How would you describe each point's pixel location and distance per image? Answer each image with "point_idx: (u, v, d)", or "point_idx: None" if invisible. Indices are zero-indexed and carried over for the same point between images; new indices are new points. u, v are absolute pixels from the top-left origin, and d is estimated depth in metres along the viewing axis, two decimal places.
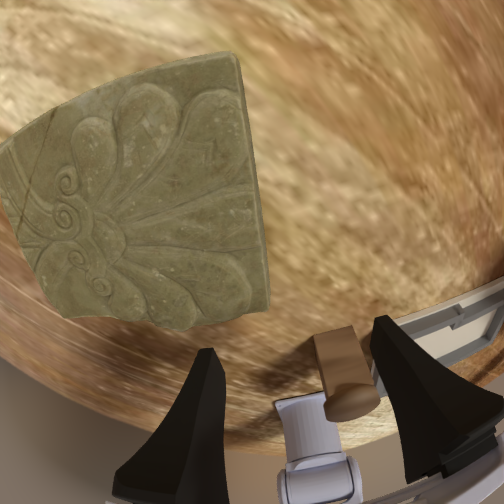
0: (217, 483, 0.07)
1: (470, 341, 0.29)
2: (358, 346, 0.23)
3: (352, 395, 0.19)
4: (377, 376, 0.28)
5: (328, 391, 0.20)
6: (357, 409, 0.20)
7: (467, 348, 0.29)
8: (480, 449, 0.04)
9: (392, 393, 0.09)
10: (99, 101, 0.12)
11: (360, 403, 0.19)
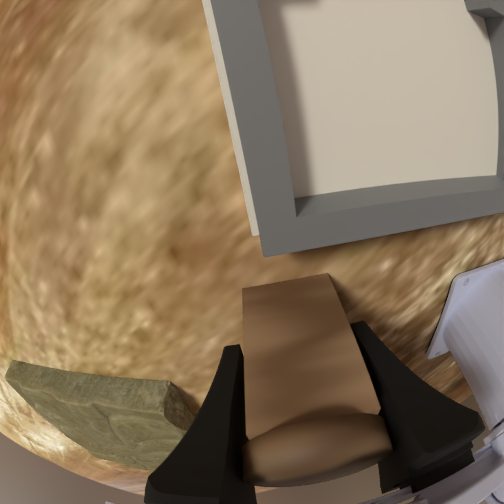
0: None
1: None
2: None
3: None
4: None
5: None
6: (323, 470, 0.06)
7: None
8: (454, 465, 0.04)
9: None
10: (52, 422, 0.19)
11: (284, 476, 0.06)
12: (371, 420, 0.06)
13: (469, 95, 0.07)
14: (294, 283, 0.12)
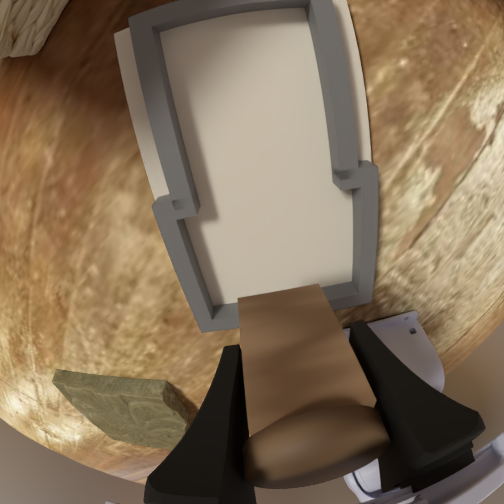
0: None
1: (311, 61, 0.13)
2: (241, 340, 0.11)
3: None
4: None
5: None
6: (323, 465, 0.07)
7: (322, 75, 0.12)
8: (454, 464, 0.04)
9: None
10: (82, 411, 0.31)
11: (286, 472, 0.06)
12: (368, 412, 0.07)
13: (322, 244, 0.19)
14: (287, 292, 0.13)
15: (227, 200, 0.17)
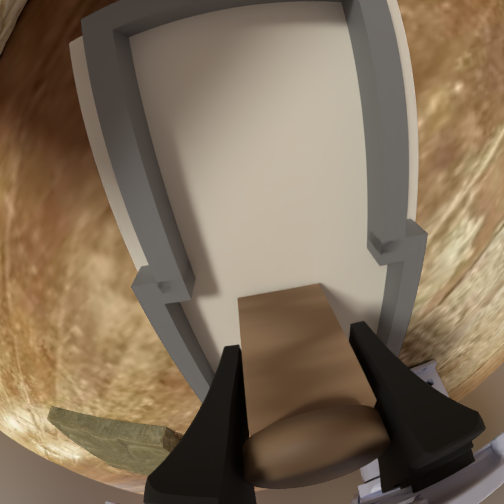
0: None
1: (351, 81, 0.09)
2: (241, 340, 0.11)
3: None
4: None
5: None
6: (323, 465, 0.07)
7: (369, 105, 0.09)
8: (454, 465, 0.04)
9: None
10: (81, 445, 0.27)
11: (286, 472, 0.06)
12: (368, 411, 0.07)
13: (345, 316, 0.15)
14: (287, 292, 0.13)
15: (230, 273, 0.13)
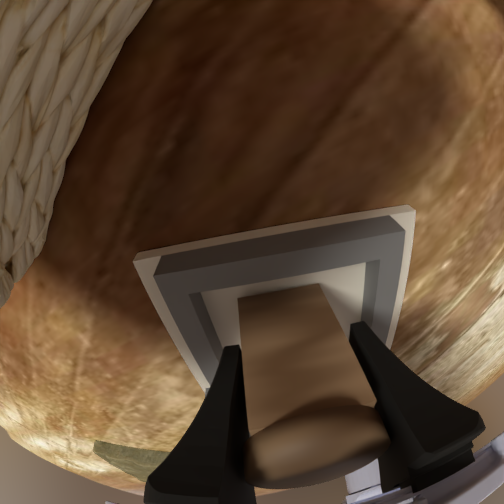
0: None
1: (358, 299, 0.14)
2: (241, 340, 0.11)
3: None
4: None
5: None
6: (324, 465, 0.07)
7: (366, 320, 0.14)
8: (454, 465, 0.04)
9: None
10: (119, 467, 0.32)
11: (286, 472, 0.06)
12: (368, 412, 0.07)
13: None
14: (287, 292, 0.13)
15: None
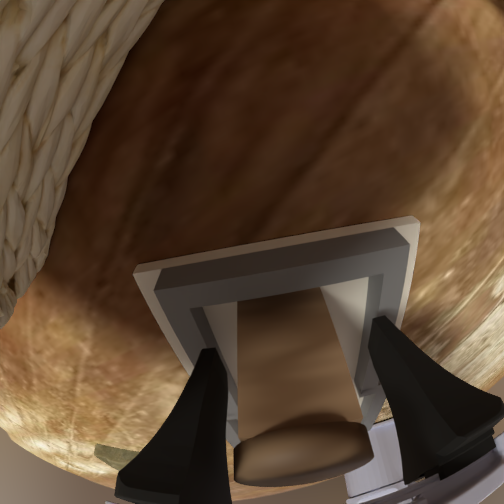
0: (220, 483, 0.07)
1: (360, 310, 0.14)
2: None
3: None
4: None
5: None
6: (308, 472, 0.07)
7: (368, 331, 0.14)
8: (478, 450, 0.04)
9: (390, 394, 0.09)
10: None
11: (272, 476, 0.07)
12: (354, 428, 0.07)
13: None
14: (287, 294, 0.13)
15: None
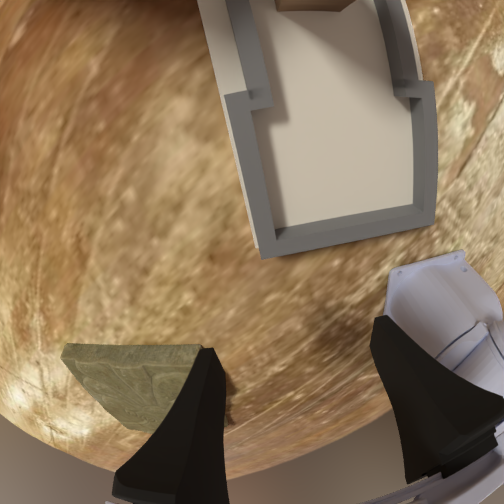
0: (217, 483, 0.07)
1: None
2: None
3: None
4: None
5: None
6: None
7: (380, 4, 0.10)
8: (480, 449, 0.04)
9: (392, 393, 0.09)
10: (95, 395, 0.29)
11: None
12: None
13: (387, 158, 0.16)
14: None
15: (299, 102, 0.15)
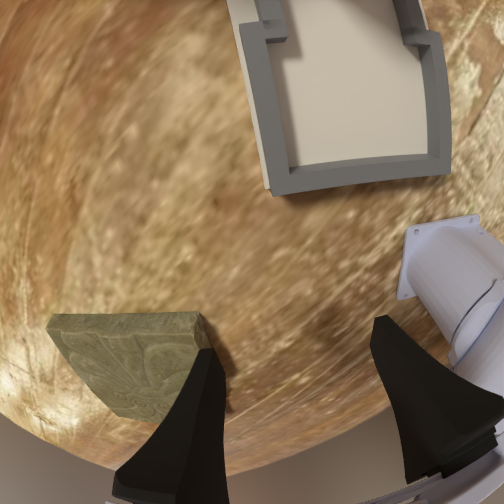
0: (217, 483, 0.07)
1: None
2: None
3: None
4: None
5: None
6: None
7: None
8: (480, 449, 0.04)
9: (392, 393, 0.09)
10: (82, 375, 0.26)
11: None
12: None
13: (400, 102, 0.14)
14: None
15: (312, 40, 0.13)
